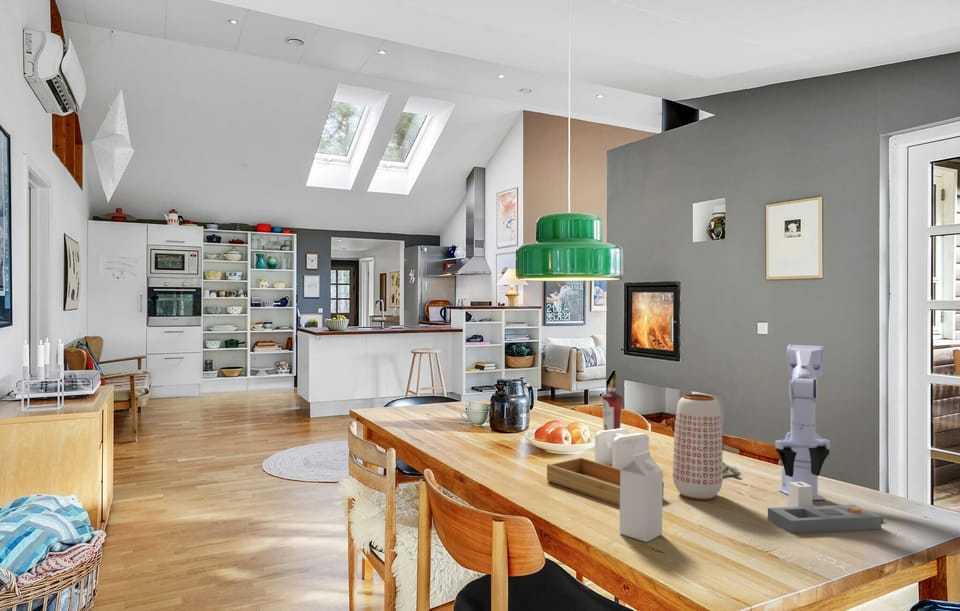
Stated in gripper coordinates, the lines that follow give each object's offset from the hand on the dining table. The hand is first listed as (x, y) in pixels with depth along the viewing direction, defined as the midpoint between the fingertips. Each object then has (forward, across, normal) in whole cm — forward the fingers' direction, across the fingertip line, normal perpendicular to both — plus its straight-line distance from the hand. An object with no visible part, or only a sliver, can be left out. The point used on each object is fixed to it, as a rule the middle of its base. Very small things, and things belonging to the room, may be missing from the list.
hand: (802, 475), depth 160 cm
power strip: (+9, +1, -10) cm, 14 cm away
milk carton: (+10, -49, -10) cm, 51 cm away
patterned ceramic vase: (+10, -21, +16) cm, 28 cm away
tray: (+10, -46, +24) cm, 53 cm away
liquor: (+10, -24, +74) cm, 79 cm away
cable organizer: (+10, -31, +47) cm, 57 cm away
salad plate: (+10, -4, +40) cm, 42 cm away
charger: (+9, 0, 0) cm, 9 cm away
